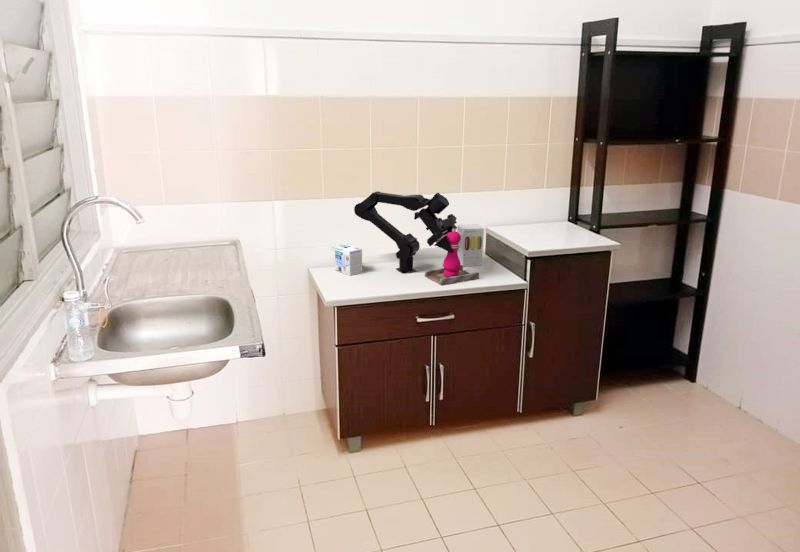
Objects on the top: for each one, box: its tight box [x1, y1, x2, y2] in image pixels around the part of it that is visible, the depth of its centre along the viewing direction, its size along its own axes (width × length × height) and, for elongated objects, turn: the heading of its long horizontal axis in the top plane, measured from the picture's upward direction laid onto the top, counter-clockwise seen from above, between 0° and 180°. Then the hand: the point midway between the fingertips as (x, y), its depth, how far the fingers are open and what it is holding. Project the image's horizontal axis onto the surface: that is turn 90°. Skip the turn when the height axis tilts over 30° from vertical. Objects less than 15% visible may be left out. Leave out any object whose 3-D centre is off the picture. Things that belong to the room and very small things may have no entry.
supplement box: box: [456, 223, 485, 267], centre depth 273 cm, size 10×9×17 cm
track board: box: [424, 265, 480, 286], centre depth 255 cm, size 18×13×2 cm
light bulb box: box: [334, 243, 363, 277], centre depth 261 cm, size 11×7×11 cm, turn 42°
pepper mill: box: [442, 228, 461, 277], centre depth 252 cm, size 7×7×20 cm
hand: (455, 251), depth 251 cm, fingers closed on pepper mill, 5 cm apart
